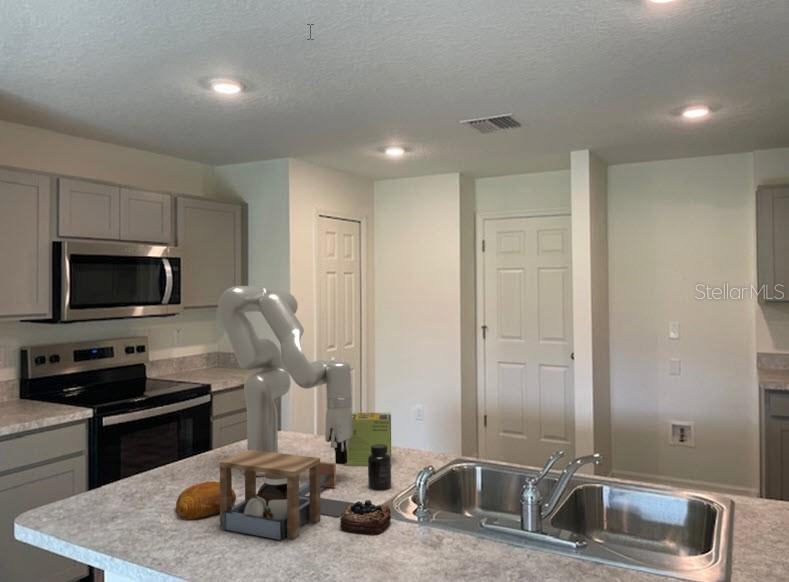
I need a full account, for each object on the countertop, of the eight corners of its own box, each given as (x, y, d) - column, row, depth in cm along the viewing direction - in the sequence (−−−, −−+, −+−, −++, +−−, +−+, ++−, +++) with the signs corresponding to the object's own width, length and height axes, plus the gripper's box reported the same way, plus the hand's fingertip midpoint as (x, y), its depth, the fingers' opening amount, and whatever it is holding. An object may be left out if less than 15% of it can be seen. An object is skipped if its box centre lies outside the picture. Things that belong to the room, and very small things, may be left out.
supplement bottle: (392, 483, 177) (392, 443, 177) (390, 491, 171) (389, 449, 170) (369, 482, 178) (369, 442, 178) (366, 490, 171) (366, 448, 171)
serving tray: (222, 528, 143) (222, 501, 143) (304, 481, 178) (304, 459, 178) (280, 539, 137) (280, 511, 137) (353, 488, 171) (353, 465, 171)
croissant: (243, 516, 158) (247, 485, 159) (189, 525, 147) (193, 492, 147) (215, 501, 168) (219, 473, 168) (162, 508, 157) (166, 478, 157)
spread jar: (303, 519, 150) (303, 473, 150) (277, 536, 140) (276, 486, 140) (265, 511, 155) (264, 467, 155) (236, 527, 145) (236, 480, 145)
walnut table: (220, 525, 146) (219, 461, 146) (249, 508, 157) (249, 449, 157) (294, 539, 138) (294, 471, 138) (320, 520, 149) (320, 458, 149)
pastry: (381, 538, 139) (380, 513, 139) (333, 531, 143) (333, 507, 143) (395, 520, 149) (395, 497, 149) (350, 515, 153) (350, 492, 153)
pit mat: (253, 503, 161) (253, 502, 161) (274, 492, 170) (274, 490, 170) (338, 517, 151) (338, 516, 151) (356, 504, 160) (356, 503, 160)
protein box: (390, 466, 195) (390, 418, 195) (344, 466, 195) (343, 418, 195) (391, 457, 205) (391, 412, 205) (347, 457, 205) (346, 412, 205)
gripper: (340, 398, 189) (341, 456, 189) (316, 407, 175) (318, 469, 175) (361, 399, 186) (363, 457, 186) (338, 408, 172) (340, 471, 172)
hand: (341, 463), depth 180 cm, fingers closed
